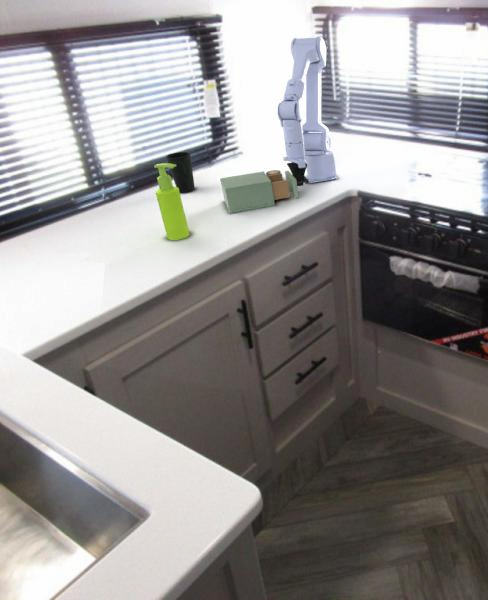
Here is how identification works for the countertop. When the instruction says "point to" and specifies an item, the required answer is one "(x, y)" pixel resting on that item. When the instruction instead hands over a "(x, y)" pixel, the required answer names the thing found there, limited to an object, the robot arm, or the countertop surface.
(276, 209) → the countertop surface
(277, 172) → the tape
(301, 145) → the robot arm
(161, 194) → the soap dispenser
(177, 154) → the cup
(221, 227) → the countertop surface
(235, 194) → the cabinet
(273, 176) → the drawer
